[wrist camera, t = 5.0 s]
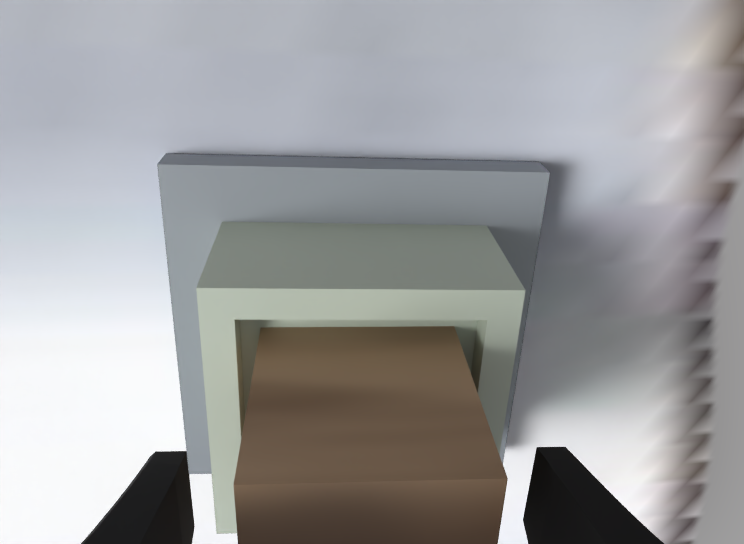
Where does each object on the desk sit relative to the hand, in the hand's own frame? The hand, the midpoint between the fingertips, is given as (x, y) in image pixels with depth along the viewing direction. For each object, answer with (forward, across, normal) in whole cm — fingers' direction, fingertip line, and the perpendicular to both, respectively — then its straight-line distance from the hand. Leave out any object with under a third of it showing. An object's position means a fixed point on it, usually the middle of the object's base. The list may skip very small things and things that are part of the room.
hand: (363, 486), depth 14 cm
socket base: (+7, 0, 0) cm, 7 cm away
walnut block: (+3, 0, 0) cm, 3 cm away
